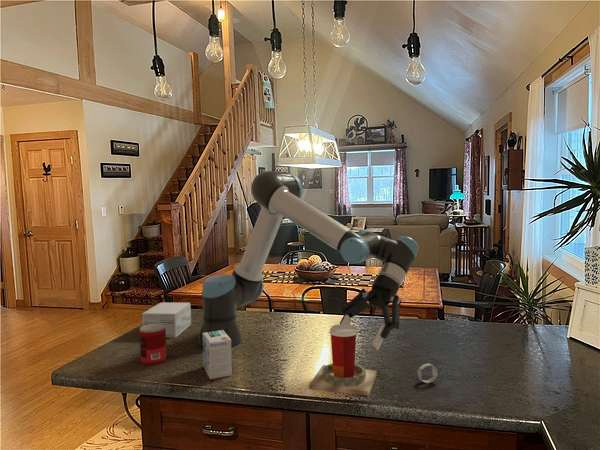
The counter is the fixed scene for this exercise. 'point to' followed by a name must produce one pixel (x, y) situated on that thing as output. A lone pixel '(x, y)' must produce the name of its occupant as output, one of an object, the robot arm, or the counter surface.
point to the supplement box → (169, 317)
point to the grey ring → (432, 372)
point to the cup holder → (344, 381)
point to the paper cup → (343, 350)
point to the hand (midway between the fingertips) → (355, 341)
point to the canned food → (153, 343)
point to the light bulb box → (217, 354)
